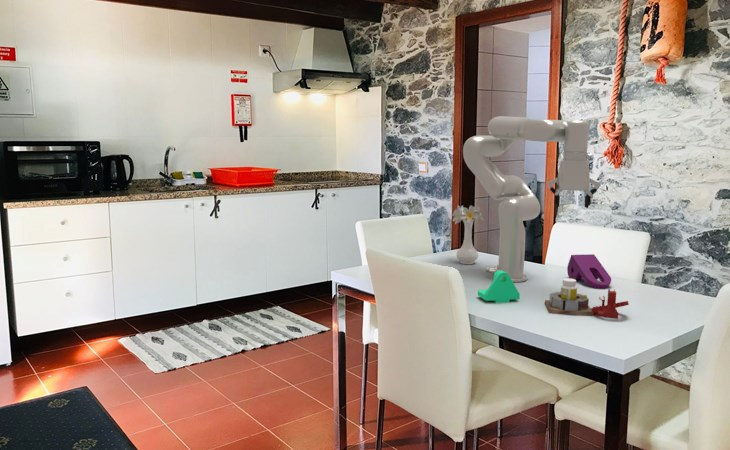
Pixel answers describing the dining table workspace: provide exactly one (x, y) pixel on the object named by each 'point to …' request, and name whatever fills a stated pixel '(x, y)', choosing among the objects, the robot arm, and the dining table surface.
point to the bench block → (559, 311)
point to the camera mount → (500, 289)
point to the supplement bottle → (569, 289)
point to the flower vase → (467, 233)
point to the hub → (568, 302)
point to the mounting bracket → (588, 271)
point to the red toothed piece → (608, 306)
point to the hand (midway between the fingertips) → (571, 207)
